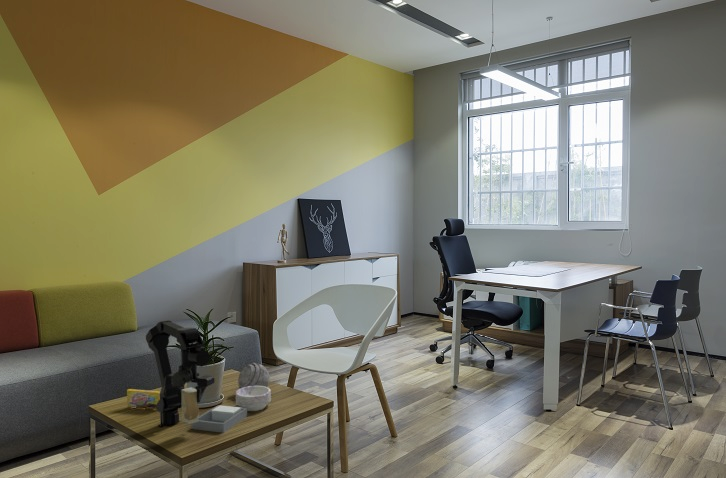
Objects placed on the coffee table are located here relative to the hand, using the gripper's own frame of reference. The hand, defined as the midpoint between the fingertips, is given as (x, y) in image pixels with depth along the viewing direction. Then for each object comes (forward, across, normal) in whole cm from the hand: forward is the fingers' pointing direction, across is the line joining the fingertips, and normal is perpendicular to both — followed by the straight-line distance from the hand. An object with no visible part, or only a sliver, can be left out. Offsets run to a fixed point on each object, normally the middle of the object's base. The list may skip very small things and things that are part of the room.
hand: (190, 401), depth 203 cm
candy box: (+13, -38, +20) cm, 45 cm away
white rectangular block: (+12, +5, +18) cm, 22 cm away
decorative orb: (+13, 0, +50) cm, 52 cm away
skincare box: (+8, 0, 0) cm, 8 cm away
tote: (+13, +5, +13) cm, 19 cm away
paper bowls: (+13, +9, +33) cm, 37 cm away
